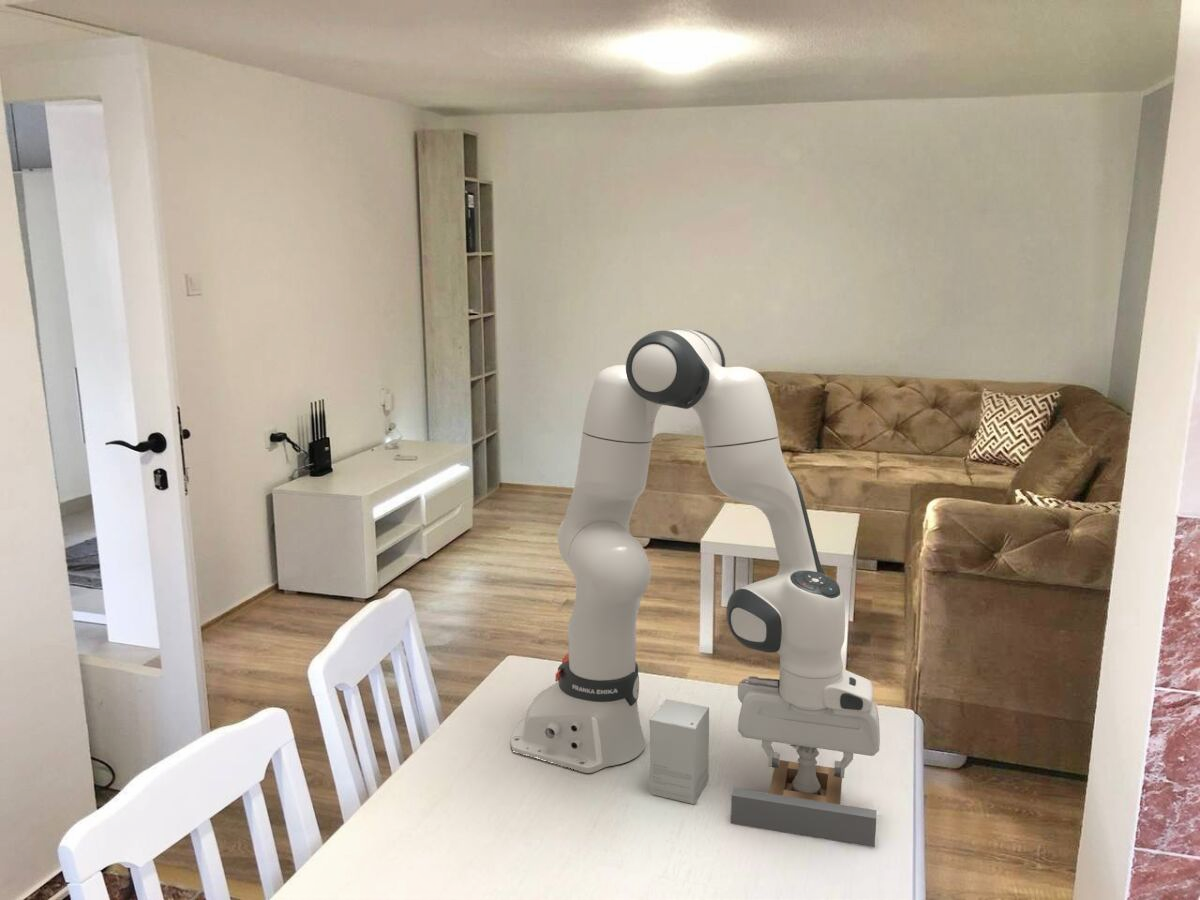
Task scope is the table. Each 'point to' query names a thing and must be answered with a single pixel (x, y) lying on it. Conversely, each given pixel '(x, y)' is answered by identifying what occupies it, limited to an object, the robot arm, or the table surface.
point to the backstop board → (804, 817)
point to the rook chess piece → (806, 772)
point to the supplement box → (679, 751)
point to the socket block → (783, 787)
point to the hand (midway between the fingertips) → (806, 770)
